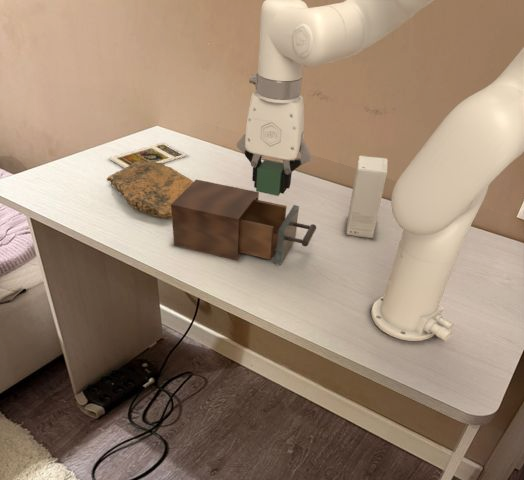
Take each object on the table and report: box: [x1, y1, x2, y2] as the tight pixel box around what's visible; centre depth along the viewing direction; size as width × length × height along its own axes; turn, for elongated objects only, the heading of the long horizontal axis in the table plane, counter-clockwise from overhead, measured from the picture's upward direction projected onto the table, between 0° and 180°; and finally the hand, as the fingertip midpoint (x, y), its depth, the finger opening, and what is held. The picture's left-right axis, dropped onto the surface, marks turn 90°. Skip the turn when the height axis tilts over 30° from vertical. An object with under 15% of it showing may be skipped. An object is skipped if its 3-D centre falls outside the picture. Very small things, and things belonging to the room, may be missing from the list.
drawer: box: [239, 199, 317, 266], centre depth 102 cm, size 18×11×8 cm, turn 72°
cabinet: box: [171, 179, 260, 261], centre depth 104 cm, size 15×13×10 cm
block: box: [255, 159, 284, 197], centre depth 94 cm, size 5×5×5 cm
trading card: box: [109, 142, 187, 169], centre depth 136 cm, size 11×1×18 cm
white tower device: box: [345, 155, 388, 239], centre depth 109 cm, size 8×7×16 cm
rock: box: [106, 161, 194, 219], centre depth 118 cm, size 25×6×20 cm
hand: (270, 187), depth 96 cm, fingers closed on block, 4 cm apart
